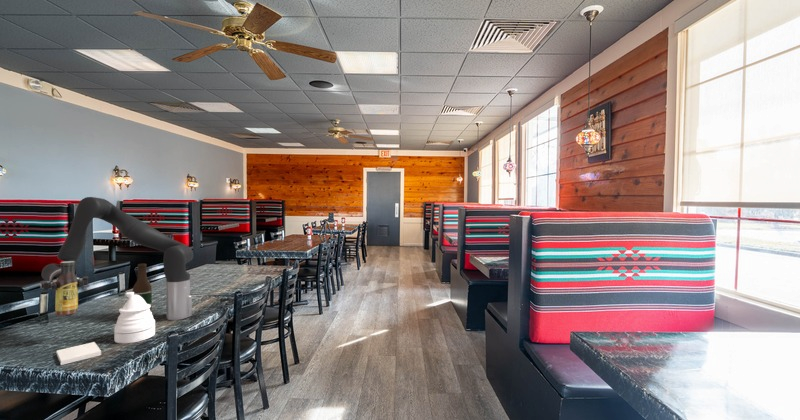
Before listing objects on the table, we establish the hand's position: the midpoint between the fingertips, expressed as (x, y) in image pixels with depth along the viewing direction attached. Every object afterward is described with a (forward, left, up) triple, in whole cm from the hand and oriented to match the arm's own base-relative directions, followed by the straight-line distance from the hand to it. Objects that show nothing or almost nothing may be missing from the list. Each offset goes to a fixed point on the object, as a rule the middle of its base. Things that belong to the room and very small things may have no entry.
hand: (68, 285), depth 129 cm
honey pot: (-18, +11, -22) cm, 30 cm away
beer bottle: (-27, -19, -22) cm, 40 cm away
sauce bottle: (0, -2, -11) cm, 11 cm away
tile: (-1, +11, -21) cm, 24 cm away
